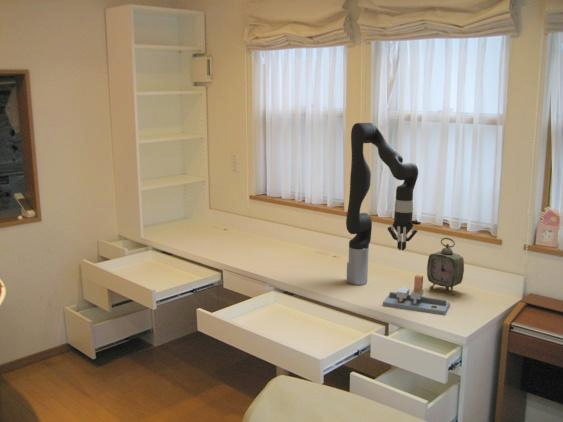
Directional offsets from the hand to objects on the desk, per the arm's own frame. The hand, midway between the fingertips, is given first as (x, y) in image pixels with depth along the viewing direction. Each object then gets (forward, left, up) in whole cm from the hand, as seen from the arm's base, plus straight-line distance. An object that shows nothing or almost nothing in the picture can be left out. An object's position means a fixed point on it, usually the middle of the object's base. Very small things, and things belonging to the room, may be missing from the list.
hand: (401, 249), depth 265 cm
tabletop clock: (+16, +22, -23) cm, 36 cm away
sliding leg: (+8, -2, -21) cm, 23 cm away
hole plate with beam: (+8, -2, -23) cm, 24 cm away
